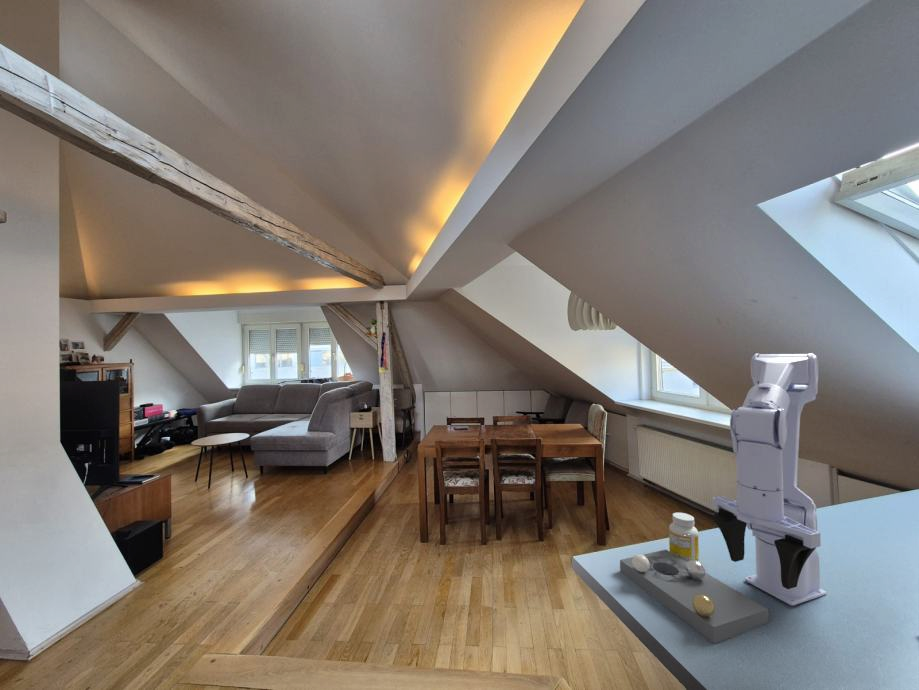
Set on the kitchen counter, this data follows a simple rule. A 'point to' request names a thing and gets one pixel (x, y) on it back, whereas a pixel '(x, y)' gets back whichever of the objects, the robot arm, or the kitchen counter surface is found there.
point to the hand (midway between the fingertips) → (761, 572)
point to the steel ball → (695, 569)
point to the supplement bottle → (683, 537)
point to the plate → (680, 589)
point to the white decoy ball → (640, 563)
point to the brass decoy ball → (703, 605)
